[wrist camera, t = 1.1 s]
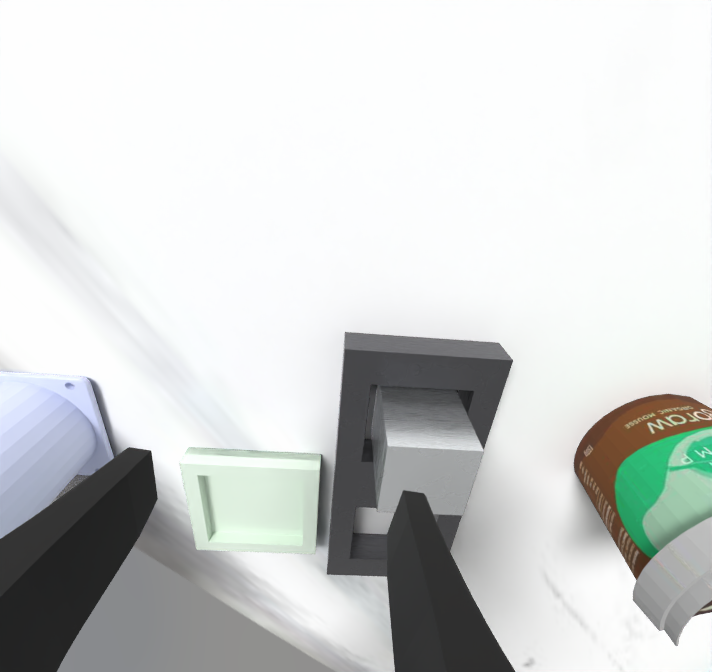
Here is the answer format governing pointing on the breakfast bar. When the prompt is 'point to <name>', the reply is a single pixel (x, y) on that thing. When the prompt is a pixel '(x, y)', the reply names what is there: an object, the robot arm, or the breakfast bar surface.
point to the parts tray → (252, 499)
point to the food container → (656, 501)
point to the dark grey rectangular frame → (355, 454)
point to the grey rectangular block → (423, 448)
